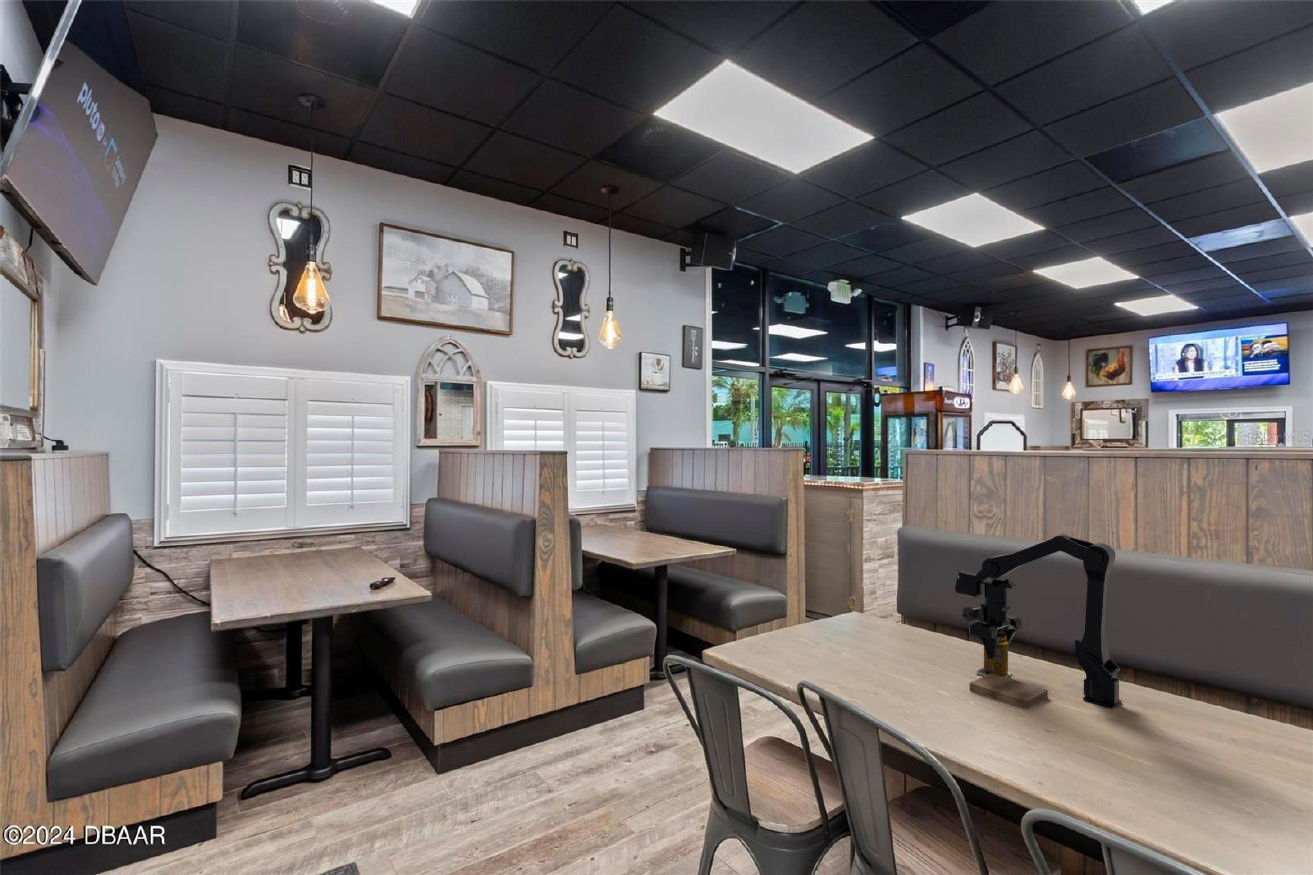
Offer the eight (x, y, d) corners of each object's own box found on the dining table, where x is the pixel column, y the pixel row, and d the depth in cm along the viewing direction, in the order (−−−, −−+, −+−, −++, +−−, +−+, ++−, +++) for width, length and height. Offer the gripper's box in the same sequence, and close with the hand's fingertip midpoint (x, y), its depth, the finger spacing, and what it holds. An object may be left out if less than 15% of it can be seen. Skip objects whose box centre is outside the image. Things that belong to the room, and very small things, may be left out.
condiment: (1013, 672, 176) (1013, 630, 176) (1003, 681, 170) (1003, 637, 170) (985, 665, 181) (985, 625, 181) (975, 673, 175) (974, 631, 175)
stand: (1047, 697, 159) (1047, 689, 159) (1026, 709, 152) (1026, 701, 152) (992, 680, 171) (992, 673, 171) (969, 690, 164) (969, 682, 164)
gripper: (983, 590, 188) (983, 642, 188) (950, 599, 177) (950, 654, 177) (1022, 598, 179) (1022, 652, 179) (990, 608, 168) (990, 666, 168)
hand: (995, 656), depth 176 cm, fingers closed on condiment, 6 cm apart
